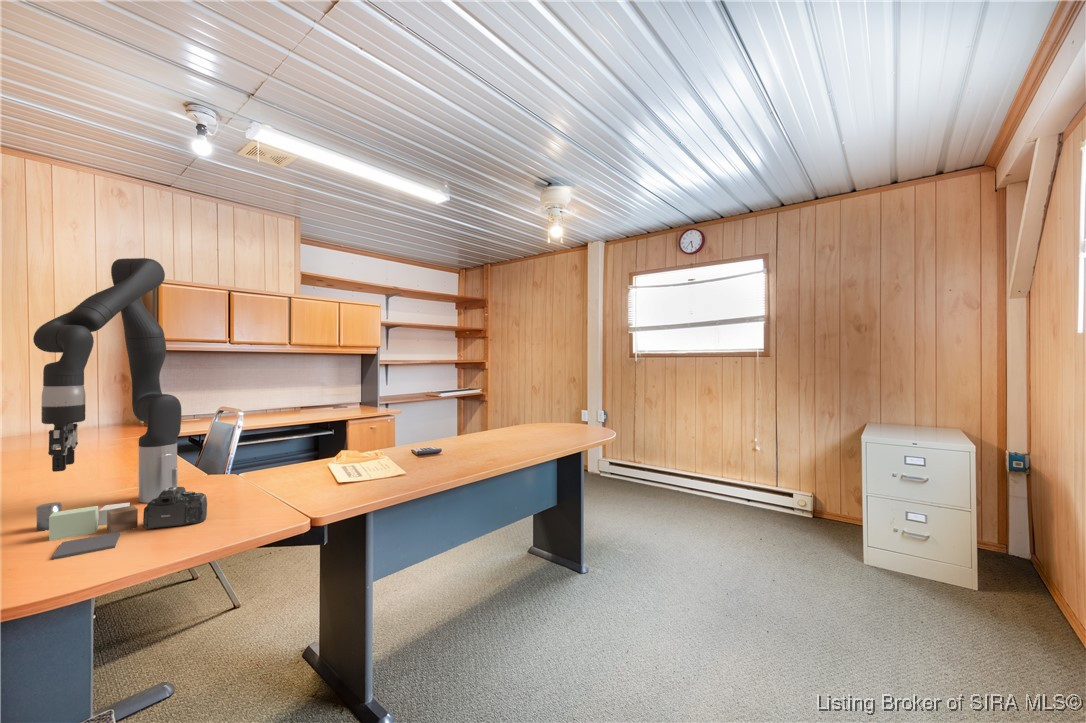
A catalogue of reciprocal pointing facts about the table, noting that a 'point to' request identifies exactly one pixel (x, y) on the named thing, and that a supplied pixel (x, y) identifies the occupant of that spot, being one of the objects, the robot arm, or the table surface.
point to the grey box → (103, 512)
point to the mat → (86, 545)
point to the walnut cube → (122, 519)
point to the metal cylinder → (46, 514)
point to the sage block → (73, 523)
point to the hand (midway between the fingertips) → (63, 467)
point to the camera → (175, 508)
